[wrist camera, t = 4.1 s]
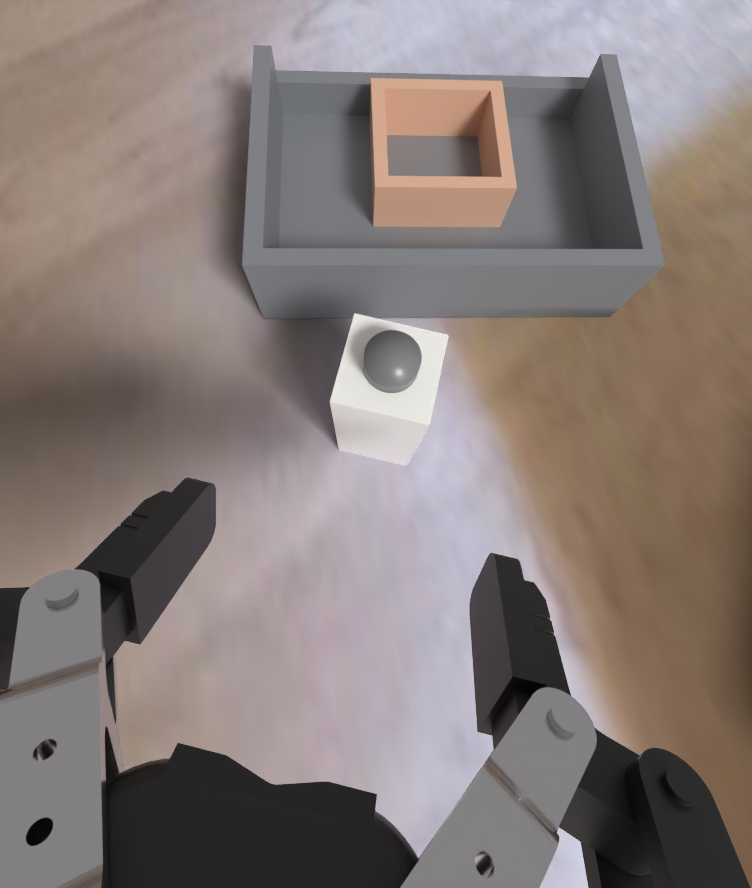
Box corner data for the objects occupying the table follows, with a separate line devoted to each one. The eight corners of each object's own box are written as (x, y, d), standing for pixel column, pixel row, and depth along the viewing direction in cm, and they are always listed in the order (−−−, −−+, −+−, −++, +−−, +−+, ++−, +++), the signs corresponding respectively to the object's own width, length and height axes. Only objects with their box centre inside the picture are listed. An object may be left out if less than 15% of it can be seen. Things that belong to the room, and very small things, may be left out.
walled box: (263, 318, 26) (241, 264, 21) (271, 116, 30) (254, 33, 25) (610, 316, 27) (665, 265, 22) (573, 122, 31) (613, 42, 26)
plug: (406, 466, 24) (434, 417, 15) (338, 449, 24) (327, 392, 15) (421, 401, 25) (454, 322, 16) (355, 386, 25) (354, 299, 16)
